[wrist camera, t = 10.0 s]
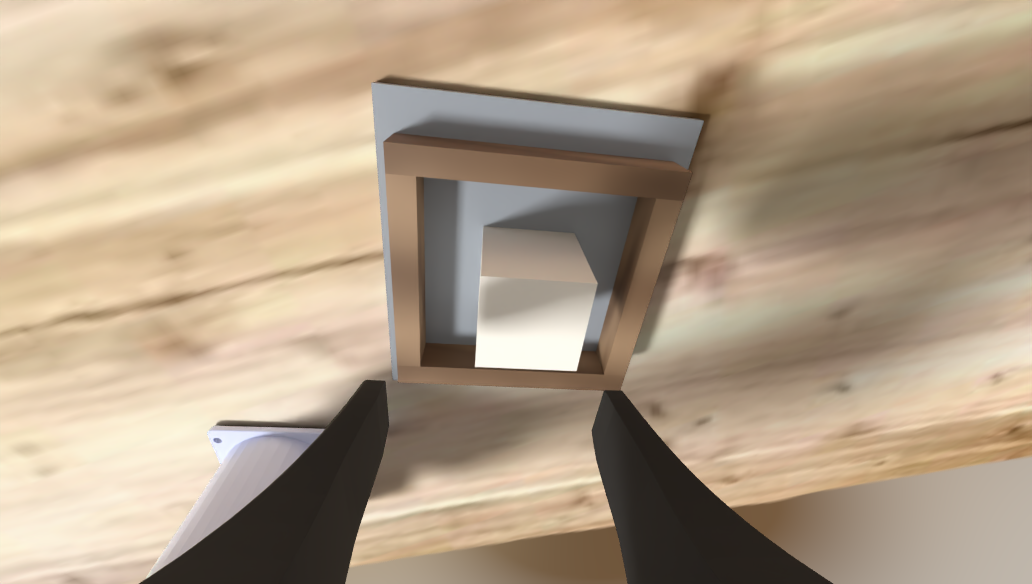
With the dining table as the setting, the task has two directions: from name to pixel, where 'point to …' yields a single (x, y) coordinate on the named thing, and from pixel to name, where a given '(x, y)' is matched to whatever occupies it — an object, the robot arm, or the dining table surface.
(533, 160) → the walnut frame
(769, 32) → the dining table surface
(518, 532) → the dining table surface
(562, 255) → the cream block
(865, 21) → the dining table surface
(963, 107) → the dining table surface
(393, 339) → the base board
